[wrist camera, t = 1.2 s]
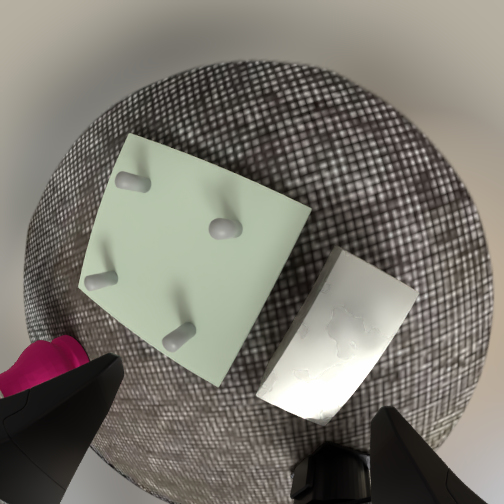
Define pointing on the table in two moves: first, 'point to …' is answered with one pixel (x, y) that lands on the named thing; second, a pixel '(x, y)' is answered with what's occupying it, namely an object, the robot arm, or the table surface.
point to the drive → (335, 337)
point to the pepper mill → (42, 364)
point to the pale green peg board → (187, 253)
